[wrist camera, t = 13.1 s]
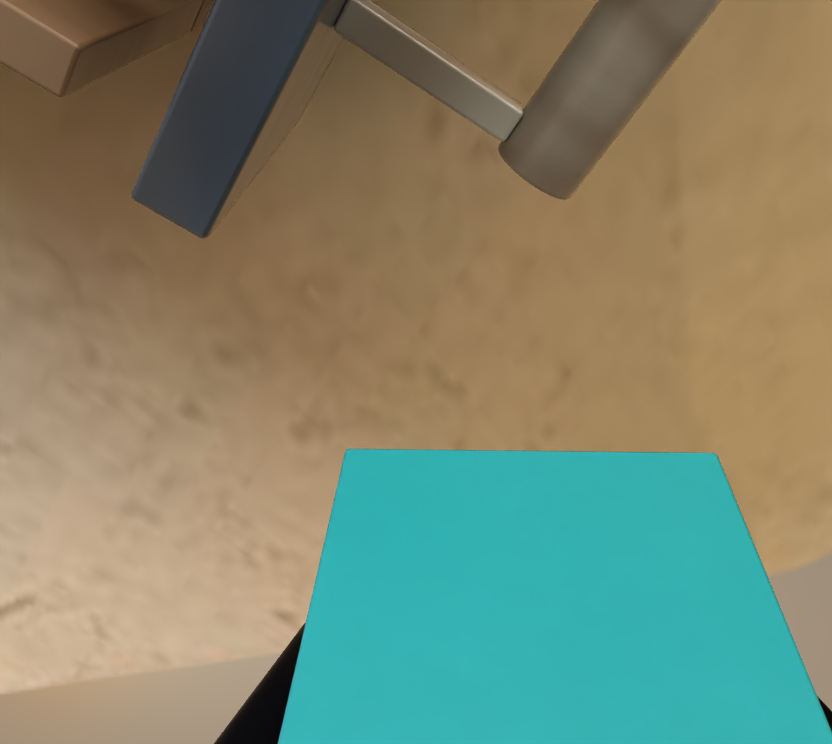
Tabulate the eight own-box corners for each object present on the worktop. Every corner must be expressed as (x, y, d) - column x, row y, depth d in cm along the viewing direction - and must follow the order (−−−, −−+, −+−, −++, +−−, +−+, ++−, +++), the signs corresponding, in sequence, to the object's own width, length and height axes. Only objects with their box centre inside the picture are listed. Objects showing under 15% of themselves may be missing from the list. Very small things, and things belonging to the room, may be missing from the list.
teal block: (717, 451, 8) (878, 834, 5) (668, 691, 11) (758, 1075, 7) (344, 446, 9) (260, 806, 5) (369, 680, 11) (320, 1045, 7)
